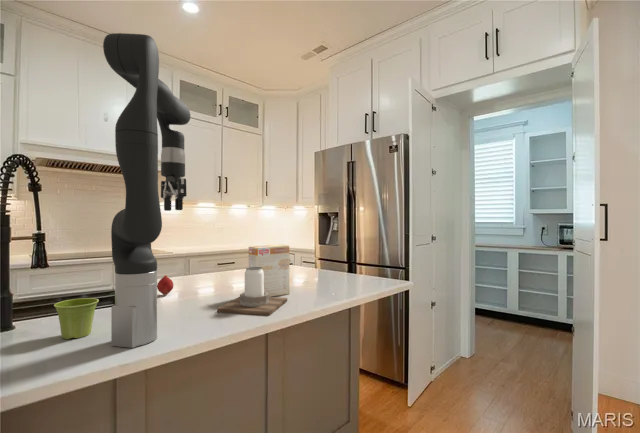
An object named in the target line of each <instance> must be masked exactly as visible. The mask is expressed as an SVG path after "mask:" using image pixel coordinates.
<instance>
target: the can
mask: <svg viewBox="0 0 640 433" xmlns="http://www.w3.org/2000/svg"><path fill="white" fill-rule="evenodd" d="M245 269H246V270H245V272H244V292H245V296H246V297H259V296H264V272H263V270H262V267H249V266H248V267H245Z"/></svg>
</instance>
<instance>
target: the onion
mask: <svg viewBox="0 0 640 433" xmlns="http://www.w3.org/2000/svg"><path fill="white" fill-rule="evenodd" d="M173 289H174V282H173V279H171V278H170V277H168V276H167V274H164V276H163V277H162V278H161V279H159V281H157V291H158V292H160V293H161V294H162V295H163V296H167V295H169V294H170V292H171V291H172V290H173Z"/></svg>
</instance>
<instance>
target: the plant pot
mask: <svg viewBox="0 0 640 433" xmlns="http://www.w3.org/2000/svg"><path fill="white" fill-rule="evenodd" d="M99 301H100V300H99V299H98V298H94V297H85V298H84V297H83V298H72V299H66V300H61V301H58V302H56V303H54V304H53V307H54V308H55V309H56V313H57V315H58V320H59V321H58V323H59V327H60V333H61V338H62V339H66V340H71V339H72V338H75V339H79V338H84V337H87V336H88V335H90V334H91V333H92V328H93V323H94V315H95V312H96V311H95V310H96V308H97V305H98V303H99Z"/></svg>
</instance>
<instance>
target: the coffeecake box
mask: <svg viewBox="0 0 640 433" xmlns="http://www.w3.org/2000/svg"><path fill="white" fill-rule="evenodd" d="M248 267H262V270H263V272H264V292H268V293H269V297H278V296H283V295H289V294H290V246H289V245H285V244H274V245H271V244H270V245H258V246H257V245H256V246H255V245H254V246H248Z"/></svg>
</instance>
